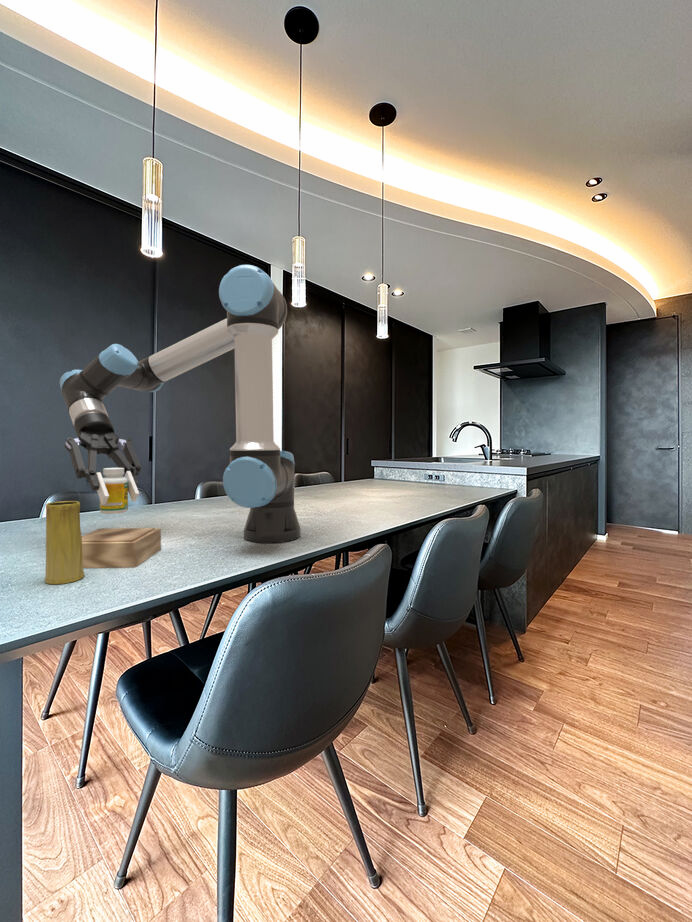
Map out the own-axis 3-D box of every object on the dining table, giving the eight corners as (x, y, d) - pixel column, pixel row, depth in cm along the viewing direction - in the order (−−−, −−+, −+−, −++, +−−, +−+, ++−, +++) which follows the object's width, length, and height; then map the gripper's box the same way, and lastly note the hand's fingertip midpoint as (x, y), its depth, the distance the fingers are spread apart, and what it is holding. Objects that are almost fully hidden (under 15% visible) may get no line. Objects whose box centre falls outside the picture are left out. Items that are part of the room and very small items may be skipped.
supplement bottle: (99, 511, 92) (99, 467, 91) (127, 509, 94) (126, 467, 94) (100, 515, 87) (99, 469, 87) (129, 513, 90) (128, 468, 89)
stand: (160, 549, 99) (160, 527, 98) (135, 567, 85) (135, 541, 84) (99, 550, 98) (99, 527, 97) (63, 568, 84) (62, 542, 83)
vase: (55, 587, 73) (53, 506, 72) (38, 581, 76) (35, 503, 75) (91, 577, 78) (89, 502, 78) (73, 572, 81) (71, 499, 81)
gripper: (128, 434, 107) (158, 505, 97) (42, 432, 93) (66, 515, 83) (136, 413, 103) (169, 484, 93) (48, 408, 89) (75, 491, 79)
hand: (120, 498), depth 88 cm, fingers closed on supplement bottle, 5 cm apart
